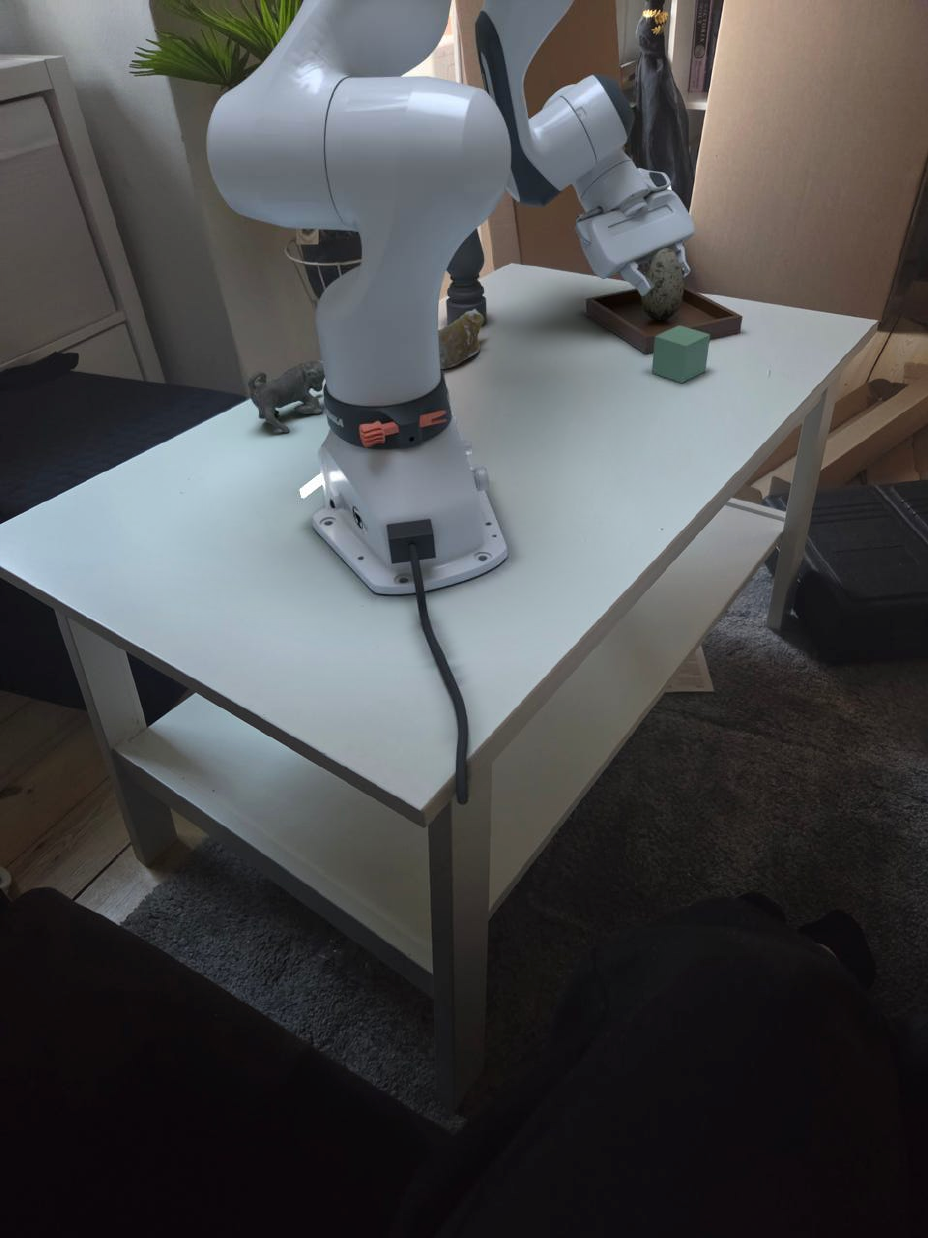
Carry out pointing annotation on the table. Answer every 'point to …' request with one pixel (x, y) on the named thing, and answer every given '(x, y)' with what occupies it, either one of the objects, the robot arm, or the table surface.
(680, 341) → the green block
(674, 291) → the decorative egg
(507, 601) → the table surface
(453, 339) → the stone
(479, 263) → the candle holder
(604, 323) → the tray
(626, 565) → the table surface
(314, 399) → the dog figurine
